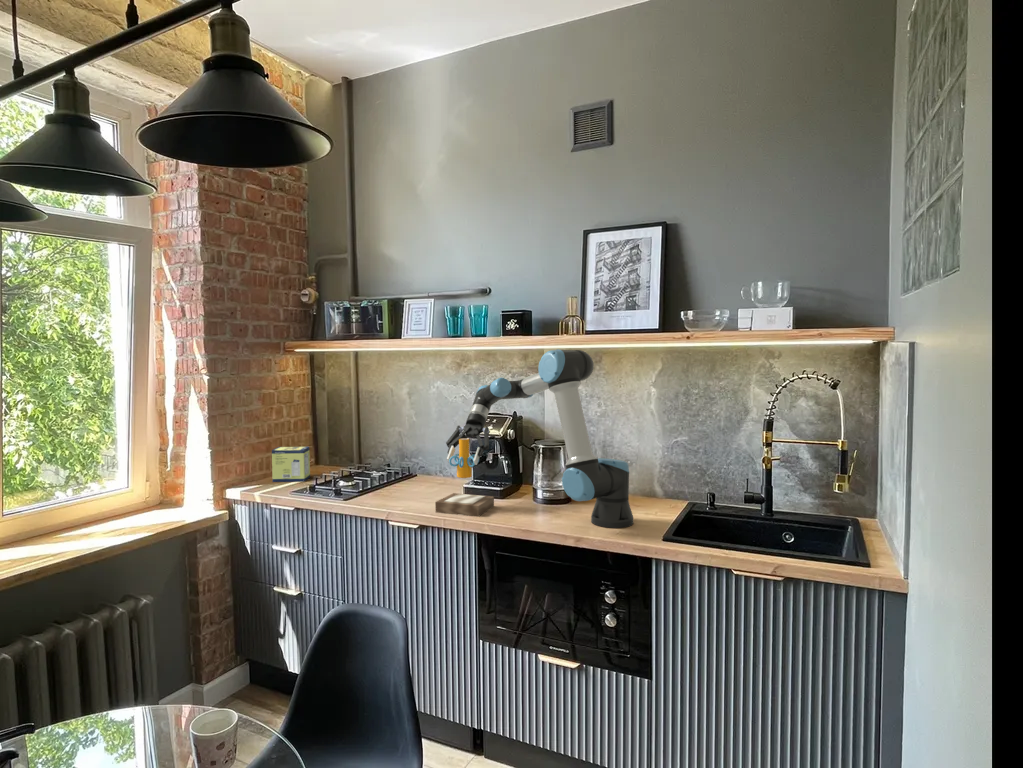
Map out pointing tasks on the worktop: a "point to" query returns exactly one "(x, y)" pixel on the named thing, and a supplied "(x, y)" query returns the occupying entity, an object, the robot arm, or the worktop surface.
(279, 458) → the protein box
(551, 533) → the worktop surface
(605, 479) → the robot arm
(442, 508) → the pedestal
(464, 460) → the cylinder
